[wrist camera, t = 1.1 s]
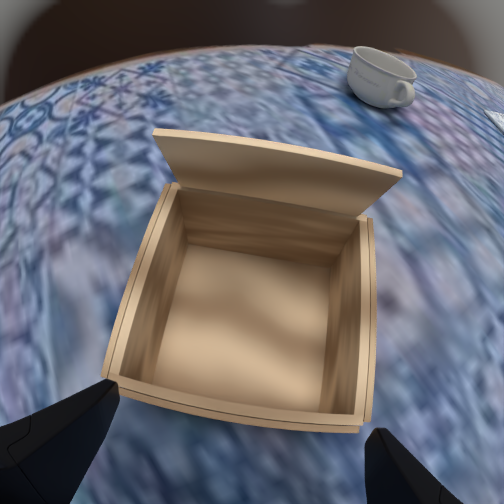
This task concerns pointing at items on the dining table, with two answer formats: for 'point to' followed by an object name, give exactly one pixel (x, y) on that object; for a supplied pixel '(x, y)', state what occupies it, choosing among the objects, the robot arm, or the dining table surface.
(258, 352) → the tan wooden open box
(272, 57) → the dining table surface
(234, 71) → the dining table surface
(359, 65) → the teacup
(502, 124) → the white open book
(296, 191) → the flap
